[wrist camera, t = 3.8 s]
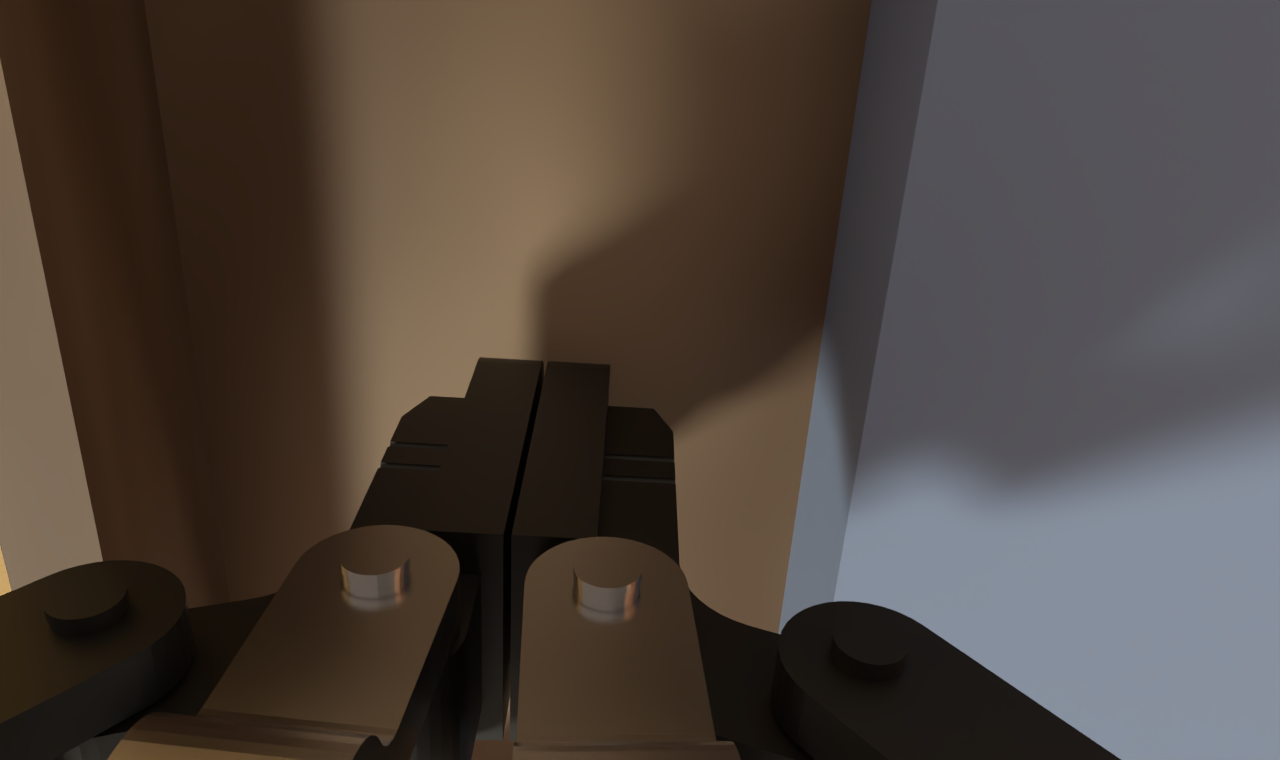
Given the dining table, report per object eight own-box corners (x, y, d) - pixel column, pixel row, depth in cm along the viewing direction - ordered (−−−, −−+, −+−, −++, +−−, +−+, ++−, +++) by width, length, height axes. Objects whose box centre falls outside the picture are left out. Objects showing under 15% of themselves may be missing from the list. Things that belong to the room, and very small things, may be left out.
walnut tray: (1832, -224, 10) (2349, -271, 7) (1315, 839, 17) (1467, 1057, 14) (29, -349, 10) (-255, -455, 7) (216, 787, 17) (115, 999, 13)
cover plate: (1777, -51, 10) (2091, -34, 8) (1350, 806, 16) (1468, 964, 13) (888, -110, 10) (957, -108, 8) (757, 779, 15) (775, 932, 13)
